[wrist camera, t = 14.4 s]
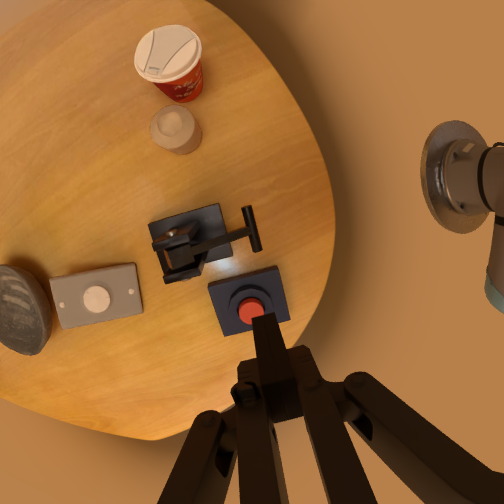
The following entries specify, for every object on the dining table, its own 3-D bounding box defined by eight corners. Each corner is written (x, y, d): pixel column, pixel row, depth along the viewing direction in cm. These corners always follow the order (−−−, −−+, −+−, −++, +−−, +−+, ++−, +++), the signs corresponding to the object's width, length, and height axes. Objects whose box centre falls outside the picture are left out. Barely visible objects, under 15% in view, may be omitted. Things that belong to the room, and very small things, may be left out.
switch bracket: (218, 202, 42) (213, 211, 30) (233, 253, 44) (233, 280, 32) (149, 223, 42) (121, 238, 30) (165, 272, 44) (144, 302, 32)
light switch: (144, 315, 43) (61, 333, 36) (138, 303, 48) (63, 318, 41) (136, 265, 41) (47, 281, 34) (130, 257, 46) (52, 271, 39)
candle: (158, 145, 39) (137, 135, 29) (176, 113, 38) (161, 94, 28) (190, 161, 40) (177, 155, 30) (208, 128, 39) (201, 113, 29)
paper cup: (197, 115, 38) (182, 86, 25) (152, 101, 37) (119, 71, 24) (218, 71, 37) (212, 27, 23) (172, 59, 35) (151, 15, 22)
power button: (259, 294, 42) (260, 299, 40) (265, 315, 43) (266, 320, 41) (235, 300, 42) (236, 305, 40) (242, 321, 43) (242, 327, 41)
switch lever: (246, 205, 38) (255, 204, 35) (257, 248, 39) (266, 250, 37) (158, 234, 33) (161, 235, 31) (173, 281, 34) (178, 285, 32)
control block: (276, 265, 44) (280, 272, 41) (288, 315, 47) (292, 325, 43) (208, 283, 45) (206, 291, 41) (224, 331, 47) (224, 342, 43)
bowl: (65, 267, 42) (40, 283, 35) (67, 348, 46) (49, 370, 38) (1, 245, 40) (-24, 255, 32) (7, 321, 44) (-13, 337, 36)
